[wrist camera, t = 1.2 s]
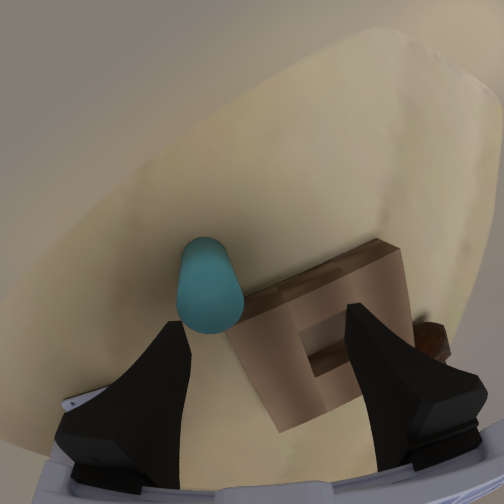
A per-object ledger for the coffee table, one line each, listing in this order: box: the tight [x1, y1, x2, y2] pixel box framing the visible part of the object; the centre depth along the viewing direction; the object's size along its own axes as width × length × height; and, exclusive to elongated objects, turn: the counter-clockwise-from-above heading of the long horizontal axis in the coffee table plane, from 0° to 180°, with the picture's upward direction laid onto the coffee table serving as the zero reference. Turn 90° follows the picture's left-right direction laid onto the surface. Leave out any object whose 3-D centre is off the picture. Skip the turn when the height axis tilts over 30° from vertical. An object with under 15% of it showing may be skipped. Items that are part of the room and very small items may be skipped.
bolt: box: [413, 322, 451, 364], centre depth 28 cm, size 6×5×15 cm
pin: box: [176, 237, 244, 334], centre depth 20 cm, size 3×3×8 cm
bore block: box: [225, 238, 415, 433], centre depth 25 cm, size 14×12×4 cm
